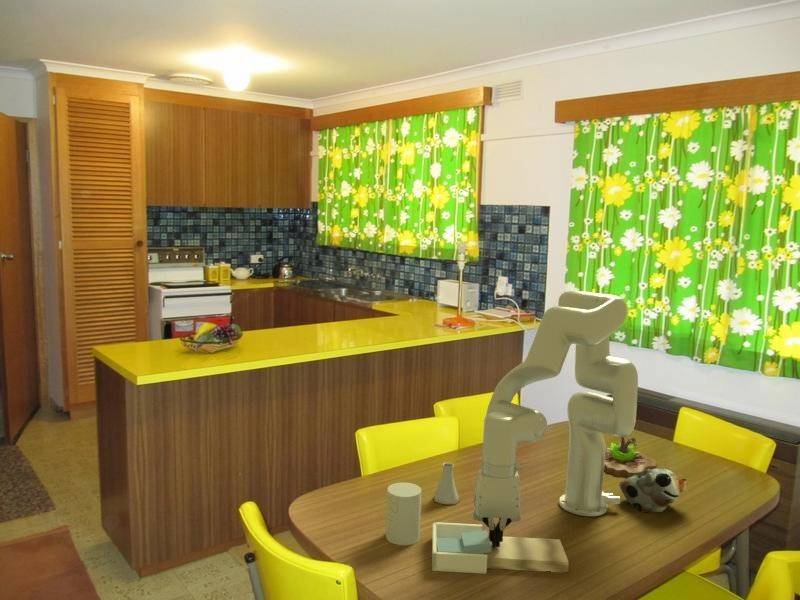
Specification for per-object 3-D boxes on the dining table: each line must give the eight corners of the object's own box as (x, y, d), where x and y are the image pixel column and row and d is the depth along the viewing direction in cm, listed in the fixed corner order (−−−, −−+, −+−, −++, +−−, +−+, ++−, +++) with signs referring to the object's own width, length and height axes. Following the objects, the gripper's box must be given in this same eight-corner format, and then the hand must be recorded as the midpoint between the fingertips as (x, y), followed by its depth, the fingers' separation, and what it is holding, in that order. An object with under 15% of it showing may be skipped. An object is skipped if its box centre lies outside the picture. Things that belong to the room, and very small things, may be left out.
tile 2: (487, 539, 151) (486, 530, 150) (491, 552, 145) (490, 543, 144) (462, 541, 151) (461, 533, 150) (464, 555, 145) (464, 545, 144)
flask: (458, 507, 173) (459, 471, 172) (431, 503, 174) (432, 468, 173) (461, 495, 180) (462, 461, 179) (435, 492, 181) (436, 458, 180)
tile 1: (461, 547, 150) (461, 538, 150) (464, 561, 145) (464, 551, 144) (435, 546, 150) (436, 537, 150) (437, 560, 144) (437, 551, 144)
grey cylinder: (385, 528, 159) (386, 482, 158) (417, 528, 160) (419, 482, 159) (387, 545, 151) (388, 497, 150) (421, 545, 152) (423, 496, 151)
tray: (481, 540, 155) (482, 524, 155) (486, 573, 141) (487, 556, 140) (432, 537, 156) (432, 522, 155) (432, 570, 141) (433, 553, 141)
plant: (612, 450, 221) (615, 418, 219) (666, 468, 205) (669, 434, 204) (576, 462, 208) (578, 429, 207) (630, 483, 193) (633, 447, 192)
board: (559, 549, 152) (559, 539, 152) (567, 572, 142) (568, 562, 142) (482, 545, 153) (483, 535, 153) (485, 568, 143) (486, 557, 143)
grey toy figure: (653, 491, 187) (681, 457, 180) (673, 525, 176) (703, 490, 170) (610, 481, 182) (637, 446, 176) (628, 515, 172) (657, 479, 166)
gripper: (529, 462, 148) (525, 537, 151) (464, 460, 149) (461, 534, 151) (535, 475, 141) (531, 554, 144) (466, 473, 141) (463, 551, 144)
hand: (495, 543), depth 148 cm, fingers closed
